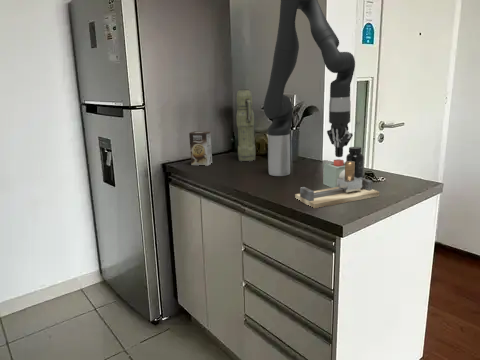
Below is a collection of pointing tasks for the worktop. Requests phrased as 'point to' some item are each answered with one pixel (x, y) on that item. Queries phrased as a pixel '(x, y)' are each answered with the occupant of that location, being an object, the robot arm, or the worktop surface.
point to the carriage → (349, 179)
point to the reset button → (338, 162)
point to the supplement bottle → (356, 160)
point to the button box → (332, 174)
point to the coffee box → (200, 148)
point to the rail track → (335, 195)
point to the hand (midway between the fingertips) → (338, 156)
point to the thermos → (245, 126)
